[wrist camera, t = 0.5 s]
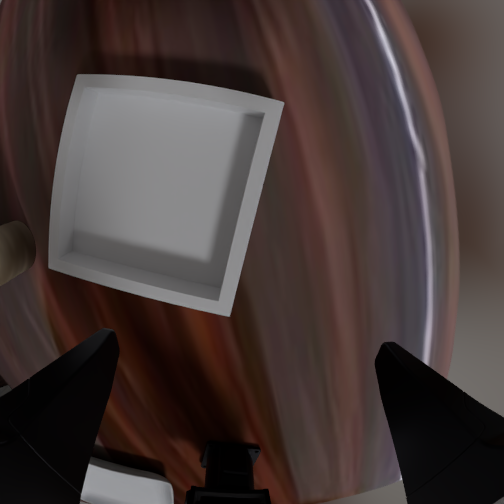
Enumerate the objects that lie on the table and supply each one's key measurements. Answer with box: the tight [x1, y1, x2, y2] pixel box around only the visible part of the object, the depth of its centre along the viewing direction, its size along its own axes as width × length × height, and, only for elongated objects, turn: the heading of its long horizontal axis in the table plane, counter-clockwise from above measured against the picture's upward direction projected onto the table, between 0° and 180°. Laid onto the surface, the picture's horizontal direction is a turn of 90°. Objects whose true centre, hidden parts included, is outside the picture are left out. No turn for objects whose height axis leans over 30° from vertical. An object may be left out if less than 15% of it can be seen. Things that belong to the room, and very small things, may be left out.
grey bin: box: [49, 74, 284, 317], centre depth 19 cm, size 15×15×3 cm
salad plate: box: [81, 456, 174, 504], centre depth 32 cm, size 21×21×3 cm
